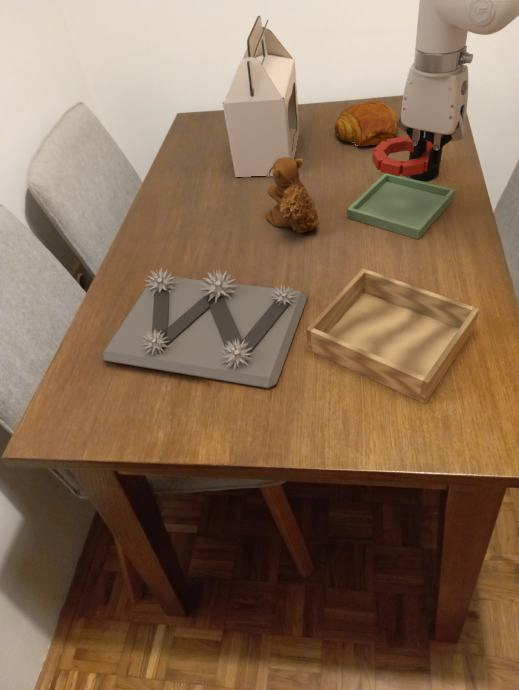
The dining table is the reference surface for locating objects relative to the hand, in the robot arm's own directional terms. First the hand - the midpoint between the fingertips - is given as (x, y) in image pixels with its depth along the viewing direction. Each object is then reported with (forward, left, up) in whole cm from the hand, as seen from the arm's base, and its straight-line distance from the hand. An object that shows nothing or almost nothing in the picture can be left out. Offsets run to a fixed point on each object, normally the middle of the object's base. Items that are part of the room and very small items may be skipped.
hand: (426, 164), depth 97 cm
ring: (+4, 0, 0) cm, 5 cm away
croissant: (+26, -25, -11) cm, 38 cm away
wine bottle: (+6, -14, -11) cm, 19 cm away
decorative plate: (+15, +47, -11) cm, 51 cm away
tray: (+4, 0, -11) cm, 11 cm away
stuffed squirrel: (+20, +14, -11) cm, 27 cm away
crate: (-12, +34, -11) cm, 37 cm away
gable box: (+43, -7, -11) cm, 45 cm away
